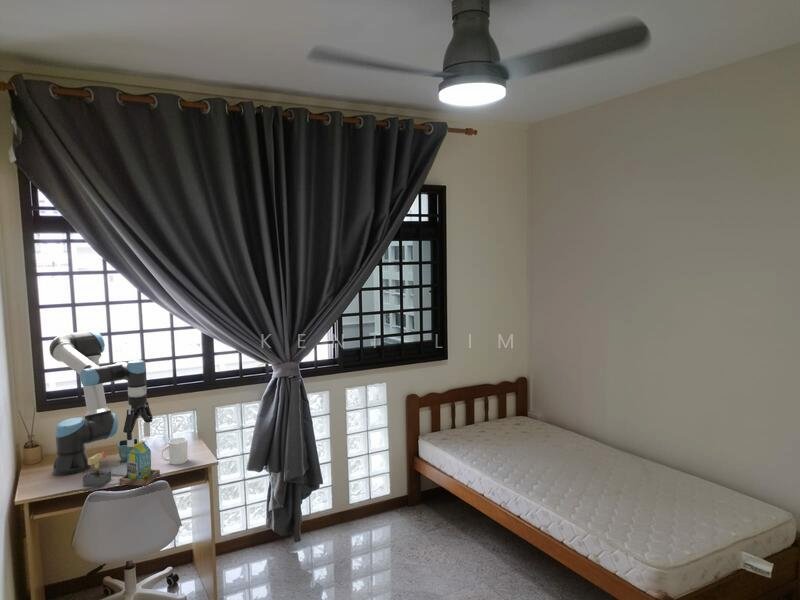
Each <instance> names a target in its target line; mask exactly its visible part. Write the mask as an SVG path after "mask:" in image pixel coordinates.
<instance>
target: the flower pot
mask: <svg viewBox="0 0 800 600" xmlns="http://www.w3.org/2000/svg"><path fill="white" fill-rule="evenodd" d="M137 443H139V438H134V445H135V444H137ZM117 448H118V453H119V458H120V460H121V461H122V463H123V462H127V454H126V453H127V452H128V451H129V450H130V449H132V447H127V439H122V440H118V445H117Z"/></svg>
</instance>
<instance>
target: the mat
mask: <svg viewBox="0 0 800 600" xmlns="http://www.w3.org/2000/svg"><path fill="white" fill-rule="evenodd" d="M110 471H111V476H115V477H123V476H124V475H125V474H127V461H125V462H123V461H122V462H121V463H120V464H119V465H117V466H116V467H114V468H113V469H112V470H110Z"/></svg>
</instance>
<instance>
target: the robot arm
mask: <svg viewBox="0 0 800 600" xmlns="http://www.w3.org/2000/svg"><path fill="white" fill-rule="evenodd" d="M105 347H106V345H105V340H104V338H103V336H102V335H101V333H99V332H98V331H96V330H85V331H79V332H69V333H67V332H66V333H62V334H59V335H57V336H56V337H55V338H54V339H53V340H52V341H51V342H50V345H49V348H48V349H49V353H50V356H51V357H52V358H53V359H54V360H55V361H58V362H61V363H63V364H65V365H66V366H68V367H69V368H70V369H71V370H73V371H75V372H76V373H77V374H79V380H80V383H81V384H82V389H83V394H84V401H85V406H86V413H85V414H84V418H83V417H81V416H80V417H79V416H78V417H77V416H76V417H71V418H67V419H64V420H62V421H60V422H59V423H58V424H57V425H56V427H55V434H54V435H55V444H56V445H55V446H56V447H55V448H56V449H55V450H56V457H55V460H54V463H53V466H52V473H53V474H54V475H57V476H69V475H75V474H79V473H82V472H85V471H87V470H88V469H90V467H91V465H88V458H89V457H88V454H87V452H86V445H89V444H91V443H95V442H96V443H97V442H98V441H99V442H100V441H103V440H107V439H109V438H113V437H114V436H115V435H116V434H117V432H118V429H119V419H118V416H117V415H116V413H114V412H112V410H111V409H110V408H109V407H108V406H107V401H106V396H105V394H106V393H105V389H104V384H107V383H114V382H118V381H124V380H125V381H127V395H128V397H127V398H128V399H127V401H128V403H127V404H128V405H129V406H131V408H130V409H126V415H125V417H126V418H125V421H124V426H123V433H126V440H127V447H134V439H135V432H134V428H135V425H136V422H137V420H138V418H139V417H141V418H142V420H143V421H144V422H143V437H146V438H147V437H149V438H150V437H151V423H152V422H153V418H154V417H153V415H152V412H151V409H150V406H149V402H148V399H147V398H148V396H147V389H148V388H147V368H146V362H145V361H144V360H142V359H140V360H139V359H134V360H133V359H132V360H129V361H128V362H126V361H117V362H116V363H113V364H108V365H103V366H100V361H99V360H100V358H101V357H102V353H103V352H105Z"/></svg>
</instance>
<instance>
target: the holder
mask: <svg viewBox="0 0 800 600" xmlns="http://www.w3.org/2000/svg"><path fill="white" fill-rule="evenodd" d="M160 475H161V471H160V469H152V468H151V476H149V477H148V478H147V479H127V474H125V475H124V476H120V478H119V479H118V480H119V481H118V482H119V485H122V486H123V485H124V486H145V487H147V486H149V484H151V483H152V482H153V481H155V480H156V479H157V478H158V477H159V476H160Z"/></svg>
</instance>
